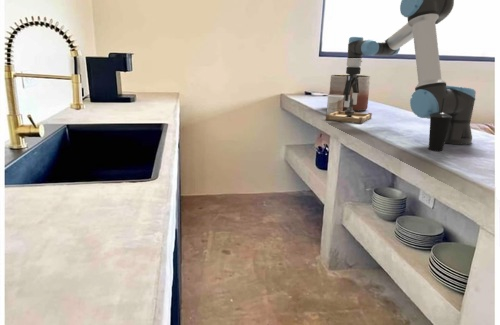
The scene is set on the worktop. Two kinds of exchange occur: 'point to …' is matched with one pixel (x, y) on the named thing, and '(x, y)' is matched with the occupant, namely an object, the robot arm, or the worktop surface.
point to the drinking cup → (438, 129)
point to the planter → (339, 85)
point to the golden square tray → (341, 117)
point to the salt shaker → (350, 109)
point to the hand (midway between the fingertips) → (350, 105)
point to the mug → (335, 103)
